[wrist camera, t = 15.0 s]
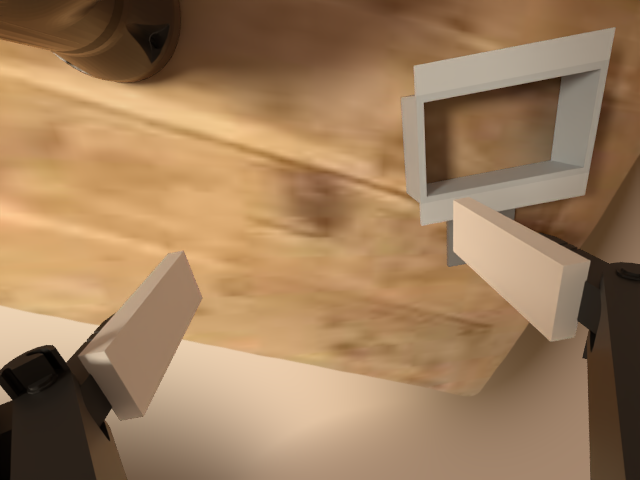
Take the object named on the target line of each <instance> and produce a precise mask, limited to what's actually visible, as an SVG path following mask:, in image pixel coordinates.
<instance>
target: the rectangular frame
mask: <svg viewBox="0 0 640 480" xmlns="http://www.w3.org/2000/svg"><path fill="white" fill-rule="evenodd" d="M615 28H616V27H614V28H608V29H603V30H598V31H593V32H588V33H582V34H577V35H572V36H567V37H561V38H556V39H551V40H546V41H541V42H535V43H530V44H525V45H520V46H514V47H509V48H504V49H499V50H494V51H488V52H483V53H478V54H473V55H468V56H462V57H457V58H452V59H447V60H441V61H436V62H431V63H426V64H421V65H415V66H414V86H415V95H412V96H406V97H401V107H402V124H403V140H404V156H405V173H406V189H407V194H409V195H410V196H411V197H413V198H414V199H415V200H416V201H418V202H419V203H420V223H421V225H422V226H423V225H428V224H433V223H439V222H444V221H449V220H453V200H456V199H461V198H466V197H470V198H472V199H474V200H476V201H478V202H480V203H482V204H483V205H485V206H487V207H489V208H491V209H493V210H495V211H503V210H508V209H513V208H519V207H524V206H529V205H535V204H540V203H545V202H551V201H556V200H561V199H567V198H572V197H577V196H583V195H585V192H586V186H587V181H588V175H589V170H590V164H591V159H592V153H593V148H594V142H595V137H596V132H597V126H598V121H599V115H600V110H601V104H602V99H603V93H604V88H605V82H606V77H607V71H608V66H609V60H610V55H611V49H612V44H613V38H614V33H615ZM561 76H562V78H561V86H560V93H559V101H558V109H557V117H556V124H555V132H554V140H553V147H552V155H551V160H550V161H544V162H539V163H534V164H528V165H523V166H518V167H512V168H507V169H502V170H496V171H491V172H486V173H481V174H475V175H470V176H465V177H459V178H454V179H449V180H443V181H438V182H433V183H428V184H426V158H425V129H424V102H430V101H435V100H440V99H445V98H450V97H456V96H461V95H466V94H471V93H477V92H482V91H487V90H492V89H498V88H503V87H508V86H513V85H519V84H524V83H529V82H534V81H540V80H545V79H550V78H555V77H561Z"/></svg>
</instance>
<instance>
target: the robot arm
mask: <svg viewBox="0 0 640 480" xmlns="http://www.w3.org/2000/svg"><path fill="white" fill-rule="evenodd" d="M180 23H181V16H180V6H179V0H0V39H1V40H6V41H10V42H15V43H19V44H24V45H28V46H33V47H37V48H42V49H47V50H51V51H52V52H53V53H54V54H55V55H56V56H58V57H59V58H60V59H61V60H63V61H64V62H66V63H67V64H68V65H70V66H71V67H73V68H75V69H77V70H78V71H80V72H82V73H85V74H87V75H90V76H92V77H95V78H98V79H102V80H108V81H115V82H136V81H140V80H144V79H146V78H149V77H151V76H152V75H154V74H156V73H157V72H158V71H160V70H161V69H162V68H163V67H164V66H165V65H166V63H167V62H168V61H169V59H170V58H171V56H172V54H173V53H174V50H175V48H176V45H177V42H178V38H179V33H180ZM453 251H454V252H455V253H456V254H457V255H458V256H459V257H460V258H461V259H462V260H463V261H464V262H465V263H467V264H468V265H469V266H470V267H471V268H472V269H473V270H474V271H475V272H476V273H477V274H478V275H479V276H481V277H482V278H483V279H484V280H485V281H486V282H487V283H488V284H489V285H490V286H491V287H492V288H493V289H495V290H496V291H497V292H498V293H499V294H500V295H501V296H502V297H503V298H504V299H505V300H506V301H507V302H509V303H510V304H511V305H512V306H513V307H514V308H515V309H516V310H517V311H518V312H519V313H520V314H521V315H523V316H524V317H525V318H526V319H527V320H528V321H529V322H530V323H531V324H532V325H533V326H534V327H535V328H537V329H538V330H539V331H540V332H541V333H542V334H543V335H544V336H545V337H546V338H547V339H548V340H550V341H557V340H562V339H568V338H573V337H575V334H576V328H577V324H578V321H579V322H580V323H581V324H583V325H584V326H585V327H587V328H588V329H589V332H588V336H587V340H586V345H585V349H584V353H583V358H585V359H587V363H588V400H589V438H590V476H591V480H640V264H635V263H623V262H620V263H611V264H609V263H607V262H605V261H603V260H601V259H599V258H596V257H595V256H593V255H591V254H589V253H587V252H585V251H583V250H581V249H577V247H575V246H573V245H571V244H568V243H567V242H565V241H563V240H561V239H559V238H557V237H555V236H551V235H547V234H544V233H537V232H535V231H533V230H531V229H529V228H527V227H525V226H523V225H521V224H520V223H518V222H516V221H514V220H512V219H510V218H508V217H506V216H504V215H502V214H501V213H499V212H497V211H495V210H493V209H491V208H489V207H487V206H485V205H483V204H482V203H480V202H478V201H476V200H474V199H472V198H470V197H466V198H461V199H456V200H453ZM201 300H202V295H201V293H200V290H199V288H198V285H197V283H196V280H195V278H194V275H193V273H192V270H191V268H190V265H189V263H188V260H187V258H186V255H185V253H184V251H179V252H174V253H168V254H167V255H166V257H165V258H164V259H163V260H162V261H161V262H160V263H159V265H158V266H157V267H156V268H155V269H154V270H153V271H152V272H151V274H150V275H149V276H148V277H147V278H146V279H145V280H144V282H143V283H142V284H141V285H140V286H139V287H138V288H137V289H136V291H135V292H134V293H133V294H132V295H131V296H130V297H129V299H128V300H127V301H126V302H125V303H124V304H123V305H122V307H121V308H120V309H119V310H118V311H117V312H116V313H115V314H113V315H112V316H111V317H109V318H108V319H107V320H105V321H104V322H103V323H102V324H101V325H100V326H99V327H98V328H97V329H96V330H95V331H94V334H92V335H91V336H90V337H89V338H88V339H87V342H85V343H84V344H83V345H82V346H81V347H80V348H79V349H78V350H77V351H76V353H75V354H74V355H73V356H72V357H71V358H70V359H69V360H68V361H67V362H65V361H64V359H63V358H62V357H61V356H60V354H59V352H58V351H57V349H56V348H55V347H54V346H53V345H45V346H41V347H37V348H35V349H32V350H30V351H27V352H25V353H23V354H22V355H20V356H18V357H16V358H15V359H13V360H12V361H10V362H9V363H8V364H6V365H5V366H4V367H3V368H2V369H1V370H0V385H1V387H2V388H3V389H4V390H5V391H6V393H7V394H8V395H9V396H10V397H11V399H12V401H10V402H7V403H5V404H2V405H0V480H127V477H126V474H125V471H124V468H123V465H122V462H121V459H120V457H119V453H118V450H117V447H116V444H115V441H114V438H113V435H112V433H111V429H110V427H109V425H108V424H107V422H106V421H105V418H106V416H107V415H108V413H109V412H110V410H111V408H112V409H113V411H114V412H115V414H116V415H117V417H118V418H119V420H120V421H122V420H127V419H132V418H138V417H143V416H144V415H145V413H146V410H147V408H148V406H149V404H150V402H151V400H152V398H153V396H154V394H155V392H156V390H157V388H158V386H159V384H160V382H161V380H162V378H163V376H164V374H165V372H166V370H167V368H168V366H169V364H170V362H171V360H172V358H173V356H174V354H175V352H176V350H177V348H178V346H179V344H180V342H181V340H182V338H183V336H184V334H185V332H186V330H187V328H188V326H189V324H190V322H191V320H192V318H193V316H194V314H195V312H196V310H197V308H198V306H199V304H200V302H201Z"/></svg>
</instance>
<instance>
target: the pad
mask: <svg viewBox="0 0 640 480" xmlns="http://www.w3.org/2000/svg"><path fill="white" fill-rule="evenodd" d="M497 212H499V213H501V214H502V215H504V216H506V217H508V218H510V219H512V220H514V216H515V208H513V209H508V210H503V211H497ZM462 264H467V263H465V262H464V261H463V260H462V259H461V258H460V257H459V256H458V255H457V254H456V253H455V252H454V251H453V220H449V221H447V266H448V267H451V266H457V265H462Z"/></svg>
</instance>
